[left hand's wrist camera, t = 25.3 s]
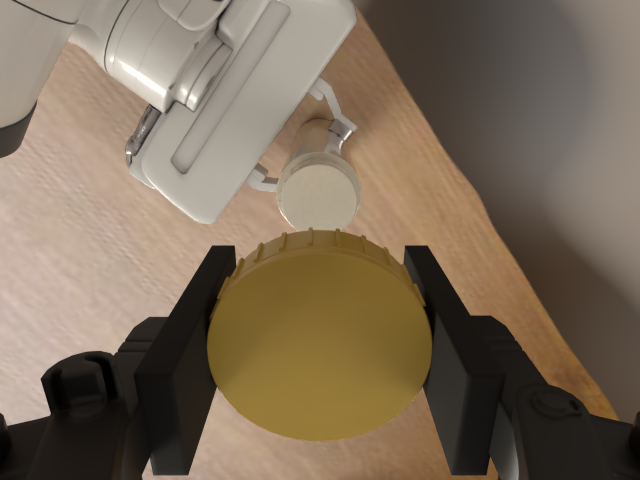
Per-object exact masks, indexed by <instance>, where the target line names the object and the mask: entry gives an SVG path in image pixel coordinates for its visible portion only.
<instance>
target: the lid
mask: <svg viewBox="0 0 640 480" xmlns="http://www.w3.org/2000/svg"><path fill="white" fill-rule="evenodd" d="M217 299H218V300H217V302H216V304H215V306H214V309H213V311H212V313H211V315H210V318H209V321H210V325H209V329H208V333H207V353H208V361H209V368H210V372H211V374H212V377H213V379H214V382H215V384H216V385H217V387H218V389H219V391H220V392H221V394H222V395H223V396H224V398H225V399H226V400H227V401H228V403H229V404H230V405H231V406H232V407H233V408H234V409H235V410H236V411H237V412H238V413H240V414H241V415H242V416H244V417H245V418H246V419H247V420H249V421H251V422H252V423H254V424H256V425H257V426H259V427H261V428H263V429H265V430H268V431H270V432H272V433H275V434H278V435H281V436H285V437H289V438H293V439H299V440H307V441H332V440H340V439H346V438H351V437H354V436H358V435H362V434H364V433H367V432H369V431H372V430H374V429H376V428H378V427H380V426H382V425H384V424H386V423H387V422H389V421H390V420H392V419H393V418H395V417H396V416H397V415H398V414H400V413H401V412H402V411H403V410H404V409H405V408H406V407H407V406H408V405H409V404H410V403H411V402H412V401H413V400H414V398H415V397H416V396H417V394H418V393H419V391H420V390H421V388H422V386H423V384H424V382H425V380H426V378H427V375H428V372H429V369H430V366H431V359H432V350H433V338H432V332H431V327H430V324H429V321H428V317H427V315H426V312H425V310H424V308H423V307H424V306H426V304H425V302H424V300H423V298H422V295H421V293H420V291H419V289H418V287H417V284H416V283H415V284H413V282H412V280H411V278H410V276H409V273H408V271H407V269H406V266H405V265H404V264H402V265H400V264H399V263H398V262H397V261H396V260H395V259H394V258H393V257H392V256H391V255H390V254H389V251H388V249H387V248H386V247H385V248H384V249H382V248H381V247H379V246H377V245H375V244H374V243H372V242H370V241H368V240H366V236H363V235H362V236H361V237H359V236H355V235H352V234H348V233H345V232H340V229H338V228H336V230H335V231H332V230H313V227H311V228H309V230H308V231H300V232H296V233H291V234H287V233H286V232H284V233H282V236H281V237H279V238H276V239H274V240H272V241H270V242H268V243H266V244H264V245H263V243H260V244H259V245H258V248H257V249H256V250H255V251H253V252H252V253H251V254H250V255H248V256H247V257H246V258H245V259H243V258H241V259H240V260H239V262H238V264H237V267H236V269H235V270H234V272H233V273H232V275H231V277H230V278H229V277H226V279H225V281H224V284H223V286H222V288H221V290H220V292H219V295H218V297H217Z"/></svg>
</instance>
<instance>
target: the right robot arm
mask: <svg viewBox="0 0 640 480" xmlns="http://www.w3.org/2000/svg"><path fill="white" fill-rule="evenodd" d="M356 23H357V15H356V9H355V6H354V4H353V2H352V1H351V0H0V158H2V157H5V156H8V155H10V154H12V153H13V152H15V151H16V150H17V149H18V148H19V147H20V145H21V143H22V140H23V138H24V135H25V133H26V130H27V128H28V125H29V123H30V120H31V118H32V115H33V113H34V110H35V108H36V105H37V98H38V97H39V95H40V93H41V91H42V89H43V87H44V85H45V83H46V81H47V79H48V77H49V75H50V73H51V72H52V70H53V68H54V66H55V64H56V62H57V60H58V58H59V56H60V54H61V52H62V50H63V48H64V46H65V45H66V43H67V41H68V42H71V43H73V44H75V45H77V46H79V47H81V48H82V49H84V50H85V51H86V52H87V53H88V54H89V55H91V56H92V57H93V59H94V60H95V61H96V62H97V63H98V65H99V66H100V67H101V68H102V69H103V70H104V71H105V72H106V73H108V74H109V75H110V76H112V77H113V78H115V79H116V80H117V81H119V82H120V83H122V84H123V85H124V86H126V87H127V88H129V89H130V90H131V91H133V92H134V93H136V94H137V95H138V96H140V97H141V98H143V99H144V100H145V101H147V102H148V103H149V106H148V107H147V108H146V111H145V112H144V114H143V116H142V118H141V119H140V122H139V124H138V126H137V129H136V131H135V132H134V134H133V136H131V137H130V138H129V140H128V142H127V144H126V146H125V152H126V153H127V157H126V162H127V166H128V169H129V172H130V173H131V174H132V175H133V176H134V177H135V178H136V179H138V180H139V181H141V182H142V183H144V184H145V185H147V186H148V187H150V188H153V189H156V190H158V191H159V192H160V193H161V194H162V195H163V196H165V197H166V198H167V199H168V200H169V201H170V202H171V203H173V204H174V205H175V206H176V207H177V208H179V209H180V210H181V211H182V212H184V213H185V214H186V215H188V216H189V217H190V218H192V219H193V220H195V221H196V222H198V223H201V224H211V223H215V222H216V221H217V220H218V218H219V217H220V216H221V214H222V213H223V211H224V210H225V209H226V207H227V206H228V204H229V203H230V201H231V200H232V199H233V197H234V196H235V194H236V193H237V191H238V190H239V188H240V187H241V186H242V184H243V183H244V182H246V183H247V184H249V185H250V186H251V187H253V188H254V189H256V190H260V191H270V192H276V188H277V183H278V178H271V177H266V175H267V173H268V170H267V169H266V168H264V167H263V166H262V165H260V164H259V163H258V162H259V160H260V159H261V157H262V156H263V154H264V153H265V152H266V150H267V149H268V147H269V146H270V145H271V143H272V142H273V140H274V139H275V137H276V136H277V135H278V133H279V132H280V130H281V129H282V128H283V126H284V125H285V123H286V122H287V121H288V119H289V118H290V116H291V115H292V113H293V112H294V111H295V109H296V108H297V106H298V105H299V104H300V102H301V101H302V99H303V98H304V96H305V95H306V94H307V92H308V93H310V94H311V95H312V96H313V97H315V98H316V99H317V100H319V101H320V100H322V98H323V97H324V95H325V96H326V99H327V101H328V104H329V106H330V109H331V111H332V114H333V116H334V119H333V120H332V122H331V123H330V125H329V129H330V130H331V131H333V132H334V133H336V134H339V135H340V137H341V138H342V139H343V140H344V141H346V142H347V141H348V139H349V138H350V137H351V136H352V134H353V133H354V132H355V131H356V129H357V128H358V126H357V125H356V124H355V123H354V122H353V121H352V120H350V119H349V118H348V117H347V116H345V115H344V114H343V113H342V112H341V109H340V107H339V104H338V102H337V99H336V96H335V94H334V91H333V89H332V86H331V85H330V84H328V83H327V82H326V81H325V80H324V79H322V78H321V77H320V76H319V75H320V74H321V72H322V71H323V70H324V68H325V67H326V65H327V64H328V62H329V61H330V60H331V58H332V57H333V55H334V54H335V53H336V52H337V50H338V49H339V47H340V46H341V44H342V43H343V42H344V40H345V39H346V37H347V36H348V35H349V33H350V32H351V30H352V29H353V27H354V26H355V25H356ZM132 156H136V157H135V159H134V160H133V162H132Z"/></svg>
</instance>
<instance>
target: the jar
mask: <svg viewBox="0 0 640 480" xmlns="http://www.w3.org/2000/svg"><path fill="white" fill-rule="evenodd" d="M330 123H331V121H328V120H325V119H314V120H310V121H308V122H306V123H305V124H303V125H302V126H301V127H300V128H299V130H298V131H297V133H296V135H295V137H294V140H293V143H292V145H291V148H290V151H289V153H288V156H287V158H286V161H285V164H284V166H283V169H282V171H281V174H280V177H279V179H278V183H277V188H276V199H277V204H278V207H279V210H280V212H281V213H282V215H283V217H284V218H285V219H286V220H287V221H288V223H289V224H290V225H291V226H292V227H293V228H294V229H296V230H297V231H299V232H300V231H308V230H309V228H311V227H313V230H332V231H335V230H336V228H338V229H340V230H342V229H343V228H344V227H346V226H347V225H348V223H349V222H350V221H351V220H352V219H353V218H354V216H355V215H356V213H357V211H358V209H359V206H360V203H361V196H362V190H361V184H360V181H359V178H358V175H357V172H356V169H355V166H354V164H353V161H352V158H351V155H350V152H349V150H348V147H347V144H346V141H344V140H343V139H342V138H341V137H340V135H339V134H336V133H334V132H333V131H331V130H330V129H329V125H330Z"/></svg>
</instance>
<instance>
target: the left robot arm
mask: <svg viewBox="0 0 640 480" xmlns="http://www.w3.org/2000/svg"><path fill="white" fill-rule="evenodd" d="M404 265H405V266H406V269H407V271H408V273H409V276H410V278H411V280H412V282H413V284H415V283H416V284H417V287H418V289H419V291H420V293H421V295H422V298H423V300H424V302H425V304H426V306H424V307H423V308H424V310H425V312H426V315H427V317H428V321H429V324H430V327H431V332H432V338H433V350H432V359H431V366H430V369H429V372H428V375H427V378H426V380H425V382H424V384H423V389H424V392H425V395H426V398H427V401H428V404H429V407H430V410H431V413H432V416H433V420H434V423H435V426H436V429H437V432H438V435H439V438H440V441H441V444H442V447H443V450H444V453H445V456H446V459H447V463H448V466H449V469H450V472H451V475H486V474H487V469H488V464H489V459H490V456H491V458H492V461H493V463H494V465H495V467H496V470H497V472H498V474H499V475H498V480H640V412H638V413H637V415H636V418H635V420H634V423H633V424H629V423H625V422H620V421H616V420H611V419H607V418H603V417H598V416H595V415H592V414H589V412H588V410H587V409H586V407H585V406H584V404H583V403H582V402H581V401H580V400H578V399H577V398H576V397H575V396H574V395H572V394H570V393H568V392H567V391H565V390H563V389H561V388H558V387H555V386H552V385H548V383H547V382H546V381H545V379H544V378H543V376H542V375H541V374H540V372H539V371H538V370H537V368H536V367H535V365H534V364H533V363H532V361H531V360H530V359H529V357H528V356H527V354H526V353H525V352H524V351H522V348H521V346H520V345H519V343H518V342H517V341H515V338H514V337H513V335H512V334H511V333H510V331H509V330H508V328H507V327H506V326H505V325H504V324H502V323H501V322H499V321H498V320H496V319H495V318H493V317H492V316H470V314H469V312H468V311H467V309H466V307H465V306H464V304H463V303H462V301H461V299H460V298H459V296H458V294H457V293H456V291H455V290H454V288H453V286H452V285H451V283H450V281H449V280H448V278H447V277H446V275H445V273H444V272H443V270H442V268H441V267H440V265H439V264H438V262H437V260H436V259H435V257H434V255H433V254H432V252H431V251H430V249H429V247H428V246H405V253H404ZM235 269H236V256H235V246H212V247H211V249H210V250H209V252H208V253H207V255H206V257H205V258H204V260H203V262H202V263H201V265H200V266H199V268H198V270H197V271H196V273H195V275H194V276H193V278H192V279H191V281H190V283H189V284H188V286H187V288H186V289H185V291H184V292H183V294H182V296H181V297H180V299H179V301H178V302H177V304H176V305H175V307H174V309H173V310H172V312H171V314H170V315H169V317H148V318H147V319H146V320H144V321H143V322H141V323H140V324H138V325H137V326H136V327H134V328H133V330H132V331H131V332H130V334H129V335H128V337H127V338H126V339H125V342H123V344H122V345H121V346H120V348H119V349H118V352H116V353H115V355H114V356H113V355H112V354H111V353H107V352H102V351H91V352H84V353H80V354H76V355H72V356H70V357H68V358H66V359H63V360H61V361H59V362H58V363H56V364H55V365H53V366H52V367H51V368H49V369H48V370H47V371H46V372H45V374H44V375H43V376H42V378H41V382H42V385H43V388H44V392H45V395H46V398H47V402H48V405H49V408H50V412H51V415H50V416H47V417H44V418H41V419H36V420H32V421H27V422H23V423H19V424H14V425H10V426H7V424H6V421H5V419H4V416H3V415H2V414H1V413H0V480H142V473H143V471H144V469H145V467H146V464H147V462H148V460H149V458H150V461H151V466H152V470H153V475H188V474H189V471H190V468H191V465H192V462H193V459H194V456H195V453H196V449H197V446H198V443H199V440H200V437H201V434H202V431H203V428H204V425H205V422H206V419H207V416H208V413H209V410H210V406H211V403H212V400H213V397H214V394H215V391H216V388H217V385H216V384H215V382H214V379H213V377H212V374H211V372H210V368H209V361H208V353H207V333H208V329H209V325H210V321H209V318H210V315H211V313H212V311H213V309H214V306H215V304H216V302H217V300H218V299H217V297H218V295H219V292H220V290H221V288H222V286H223V284H224V281H225V279H226V277H229V278H230V277H231V275H232V273H233V272H234V270H235Z"/></svg>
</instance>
